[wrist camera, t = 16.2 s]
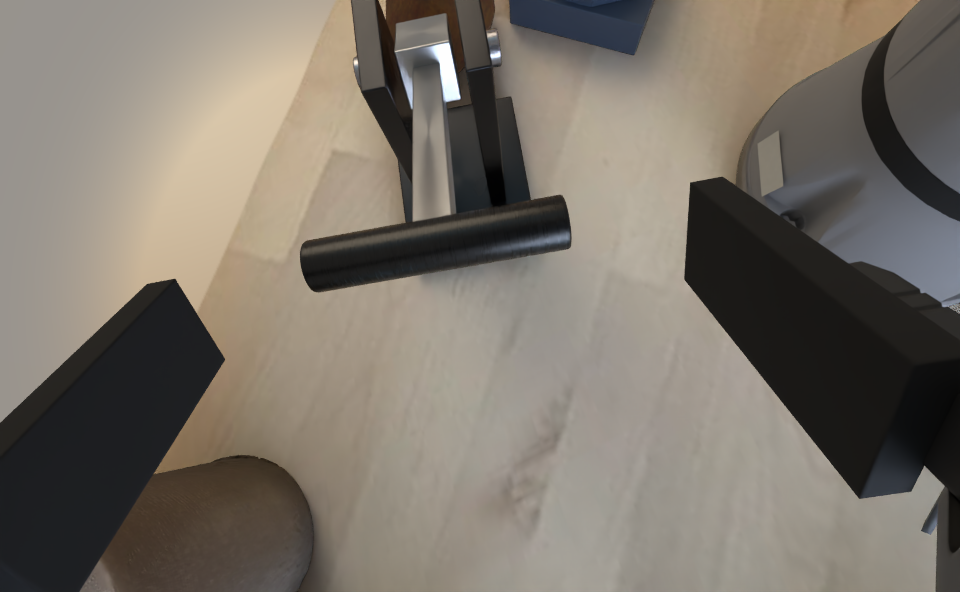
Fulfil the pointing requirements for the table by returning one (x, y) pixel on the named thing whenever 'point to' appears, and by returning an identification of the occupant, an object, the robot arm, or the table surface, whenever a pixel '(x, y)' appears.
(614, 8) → the button block
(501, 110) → the lever bracket
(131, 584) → the pillar candle
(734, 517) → the table surface
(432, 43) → the lever
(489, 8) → the potato
